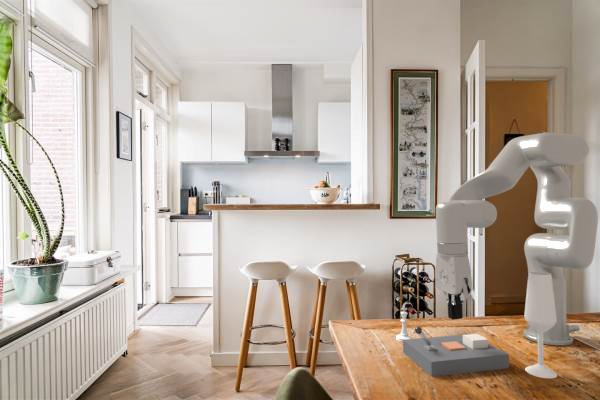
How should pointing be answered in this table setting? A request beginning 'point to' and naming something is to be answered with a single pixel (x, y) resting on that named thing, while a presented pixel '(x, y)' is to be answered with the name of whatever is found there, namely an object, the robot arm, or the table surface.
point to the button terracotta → (453, 346)
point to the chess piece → (403, 327)
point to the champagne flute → (540, 316)
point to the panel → (453, 356)
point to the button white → (475, 341)
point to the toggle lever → (422, 336)
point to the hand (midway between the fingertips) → (455, 318)
